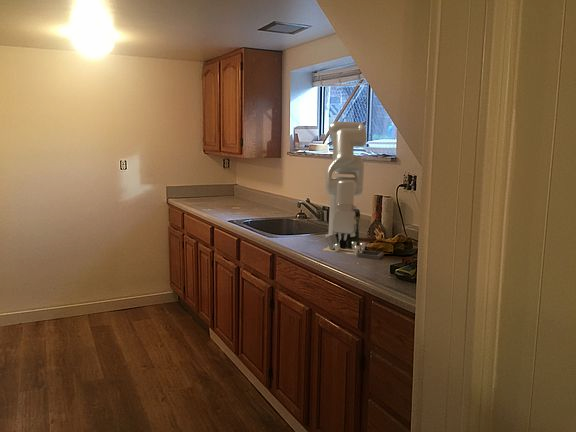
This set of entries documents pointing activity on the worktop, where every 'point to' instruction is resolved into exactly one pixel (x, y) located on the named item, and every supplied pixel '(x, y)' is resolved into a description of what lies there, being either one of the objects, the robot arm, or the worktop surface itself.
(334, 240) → the nut
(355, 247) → the spacers
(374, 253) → the tray
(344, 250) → the board
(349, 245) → the coffee jar
